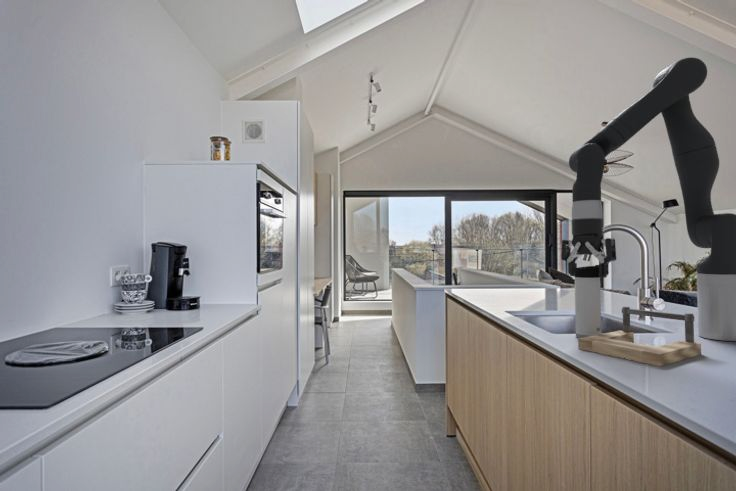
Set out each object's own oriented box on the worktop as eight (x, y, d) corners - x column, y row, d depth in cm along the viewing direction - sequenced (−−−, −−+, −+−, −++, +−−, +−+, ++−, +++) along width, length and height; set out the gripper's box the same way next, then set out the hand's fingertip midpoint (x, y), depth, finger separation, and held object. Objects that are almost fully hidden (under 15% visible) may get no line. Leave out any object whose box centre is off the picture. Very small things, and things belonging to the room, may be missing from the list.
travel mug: (606, 340, 108) (604, 265, 108) (579, 339, 109) (578, 265, 109) (598, 335, 114) (596, 264, 114) (572, 335, 115) (571, 264, 116)
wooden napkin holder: (620, 339, 108) (619, 306, 109) (702, 354, 93) (700, 314, 93) (578, 348, 99) (577, 312, 100) (660, 366, 84) (659, 322, 84)
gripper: (621, 216, 108) (622, 277, 107) (571, 220, 120) (572, 275, 120) (604, 215, 104) (605, 278, 104) (555, 219, 116) (555, 275, 116)
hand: (587, 276), depth 112 cm, fingers open, 8 cm apart
